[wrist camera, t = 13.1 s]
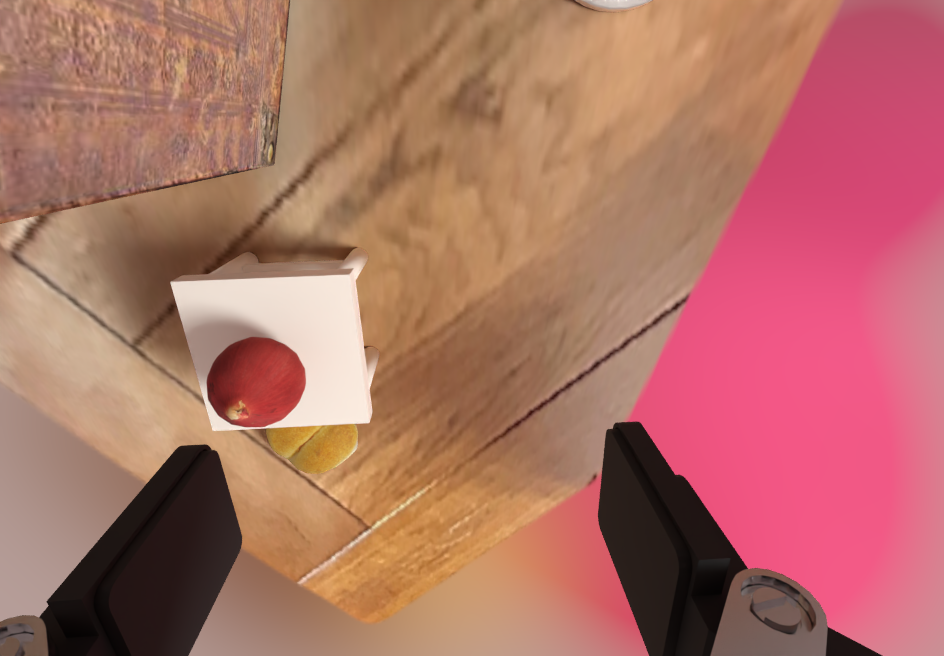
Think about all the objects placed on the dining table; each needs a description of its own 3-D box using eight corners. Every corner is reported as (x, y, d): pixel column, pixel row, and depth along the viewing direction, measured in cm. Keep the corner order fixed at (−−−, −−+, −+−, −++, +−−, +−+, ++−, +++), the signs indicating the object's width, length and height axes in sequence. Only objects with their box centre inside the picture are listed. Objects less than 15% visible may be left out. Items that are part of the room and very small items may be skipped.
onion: (281, 404, 36) (239, 476, 28) (218, 355, 34) (155, 417, 27) (333, 357, 34) (304, 419, 27) (270, 303, 33) (220, 354, 25)
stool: (371, 242, 41) (349, 274, 32) (384, 364, 46) (369, 423, 37) (232, 248, 41) (170, 281, 32) (260, 370, 46) (213, 431, 36)
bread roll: (307, 372, 46) (295, 393, 43) (372, 429, 49) (366, 453, 45) (252, 420, 48) (235, 444, 44) (318, 472, 51) (307, 499, 47)
